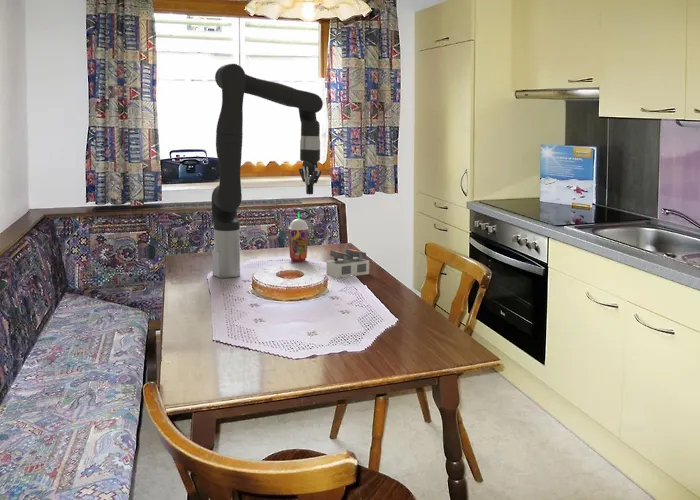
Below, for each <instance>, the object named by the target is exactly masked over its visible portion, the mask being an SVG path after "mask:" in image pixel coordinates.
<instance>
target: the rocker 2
mask: <svg viewBox="0 0 700 500" xmlns="http://www.w3.org/2000/svg"><path fill="white" fill-rule="evenodd" d="M345 253H347V254H349V255H351V256H353V258H355V257H359V255H361V254H362V255H363V256H362V259H366V258H367V257H366V256H367V252H364V251H362V250H358V249H357V250H356V249H350V248H346V249H345Z"/></svg>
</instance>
